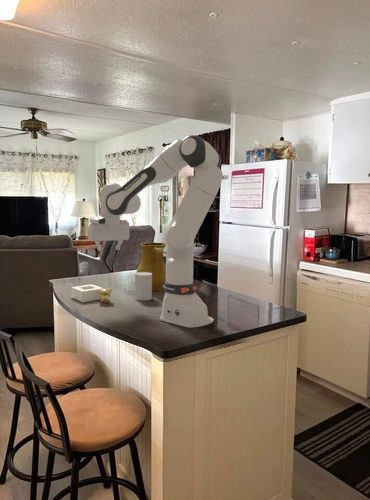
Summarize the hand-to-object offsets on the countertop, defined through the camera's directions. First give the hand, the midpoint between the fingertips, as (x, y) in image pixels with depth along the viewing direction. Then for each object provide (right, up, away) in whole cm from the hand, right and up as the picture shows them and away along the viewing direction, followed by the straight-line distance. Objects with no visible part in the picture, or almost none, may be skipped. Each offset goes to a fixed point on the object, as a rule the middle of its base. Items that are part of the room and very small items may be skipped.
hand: (108, 250), depth 180 cm
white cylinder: (+15, -23, +10) cm, 29 cm away
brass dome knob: (-2, -24, +2) cm, 24 cm away
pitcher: (+17, -21, +30) cm, 40 cm away
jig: (-12, -23, +8) cm, 27 cm away
